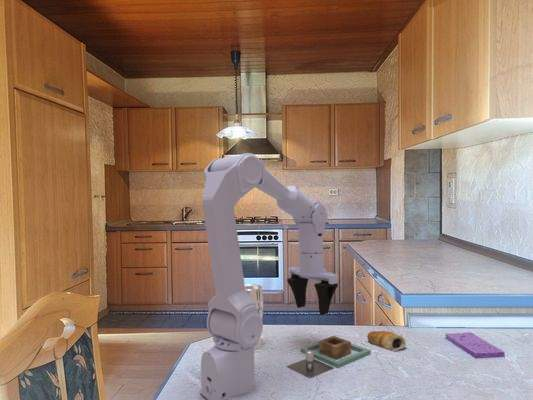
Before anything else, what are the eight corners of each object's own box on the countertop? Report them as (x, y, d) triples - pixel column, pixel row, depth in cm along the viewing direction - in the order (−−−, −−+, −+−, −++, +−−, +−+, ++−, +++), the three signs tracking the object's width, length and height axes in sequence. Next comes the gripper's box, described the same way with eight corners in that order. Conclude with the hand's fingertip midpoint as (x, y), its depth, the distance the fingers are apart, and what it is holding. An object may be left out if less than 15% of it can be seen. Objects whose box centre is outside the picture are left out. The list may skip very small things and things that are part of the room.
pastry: (360, 342, 92) (360, 327, 92) (380, 337, 95) (380, 323, 95) (388, 355, 83) (388, 338, 84) (409, 349, 86) (408, 333, 87)
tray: (337, 373, 74) (337, 364, 74) (300, 357, 83) (300, 348, 83) (370, 359, 81) (370, 350, 81) (333, 345, 89) (332, 337, 89)
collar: (336, 361, 78) (335, 347, 78) (319, 354, 82) (318, 341, 82) (351, 355, 81) (350, 341, 81) (333, 348, 85) (333, 335, 85)
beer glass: (252, 357, 83) (250, 291, 83) (229, 350, 87) (228, 288, 87) (269, 347, 89) (268, 285, 89) (247, 341, 93) (246, 282, 93)
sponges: (471, 339, 93) (471, 332, 93) (505, 359, 81) (505, 351, 81) (444, 340, 93) (444, 333, 93) (475, 360, 80) (474, 352, 80)
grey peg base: (310, 384, 70) (309, 361, 70) (286, 372, 75) (285, 350, 75) (334, 373, 74) (333, 352, 74) (310, 362, 80) (309, 342, 80)
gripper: (346, 253, 82) (347, 313, 82) (302, 248, 94) (303, 301, 94) (324, 256, 78) (326, 319, 78) (281, 250, 90) (282, 306, 89)
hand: (312, 310), depth 85 cm, fingers open, 7 cm apart
